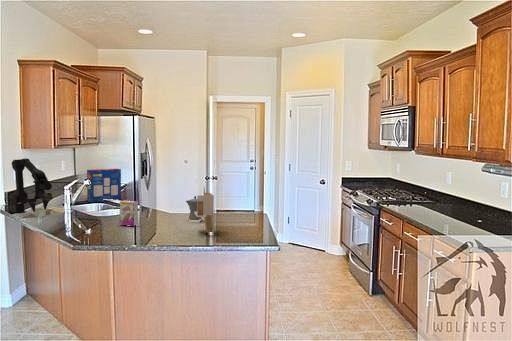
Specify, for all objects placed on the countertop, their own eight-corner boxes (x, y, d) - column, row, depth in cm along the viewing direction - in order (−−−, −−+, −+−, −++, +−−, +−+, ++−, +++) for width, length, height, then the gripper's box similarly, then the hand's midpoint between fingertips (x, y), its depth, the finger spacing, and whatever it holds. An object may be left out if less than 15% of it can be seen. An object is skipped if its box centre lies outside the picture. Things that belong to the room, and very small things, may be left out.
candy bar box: (119, 225, 280) (119, 201, 279) (124, 224, 285) (123, 200, 284) (133, 227, 277) (133, 202, 275) (138, 226, 282) (138, 201, 280)
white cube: (31, 214, 314) (31, 207, 314) (36, 213, 319) (36, 206, 318) (36, 214, 312) (36, 208, 312) (41, 213, 317) (41, 207, 316)
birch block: (44, 214, 316) (44, 208, 316) (55, 212, 326) (55, 206, 325) (54, 215, 313) (54, 209, 312) (65, 213, 322) (65, 207, 321)
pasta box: (116, 198, 398) (116, 168, 396) (121, 199, 393) (120, 169, 390) (87, 201, 379) (87, 169, 376) (91, 202, 373) (91, 170, 371)
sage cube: (34, 216, 306) (34, 209, 306) (40, 215, 311) (40, 208, 310) (39, 217, 304) (39, 210, 304) (45, 215, 309) (45, 209, 308)
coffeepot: (186, 223, 294) (186, 197, 292) (184, 220, 303) (184, 195, 301) (208, 222, 298) (208, 196, 297) (206, 219, 307) (206, 195, 306)
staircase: (197, 237, 257) (198, 189, 254) (194, 231, 272) (194, 186, 270) (213, 236, 260) (214, 189, 257) (209, 230, 275) (209, 185, 273)
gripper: (36, 191, 294) (36, 213, 296) (58, 188, 311) (58, 209, 313) (24, 190, 298) (25, 212, 300) (46, 187, 316) (47, 208, 317)
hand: (39, 210), depth 307 cm, fingers open, 9 cm apart
